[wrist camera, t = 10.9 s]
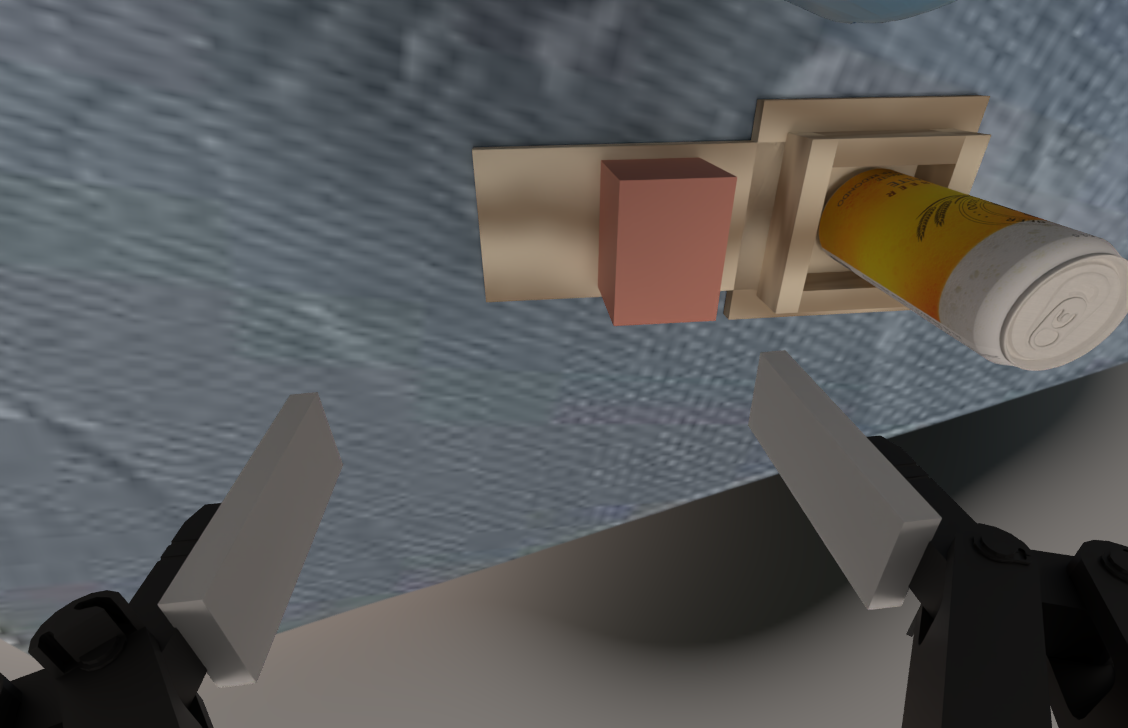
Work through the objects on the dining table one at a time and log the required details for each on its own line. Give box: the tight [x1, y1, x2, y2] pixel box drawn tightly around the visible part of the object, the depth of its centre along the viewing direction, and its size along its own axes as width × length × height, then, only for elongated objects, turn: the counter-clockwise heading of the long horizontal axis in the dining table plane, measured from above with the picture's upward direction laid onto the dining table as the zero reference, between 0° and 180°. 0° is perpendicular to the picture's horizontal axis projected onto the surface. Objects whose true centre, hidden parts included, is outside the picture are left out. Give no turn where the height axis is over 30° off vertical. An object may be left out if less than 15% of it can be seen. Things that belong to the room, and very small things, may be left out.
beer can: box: [819, 168, 1128, 371], centre depth 28 cm, size 6×6×15 cm
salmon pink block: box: [598, 157, 737, 326], centre depth 31 cm, size 8×6×6 cm
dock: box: [472, 95, 991, 320], centre depth 33 cm, size 14×31×4 cm, turn 91°
